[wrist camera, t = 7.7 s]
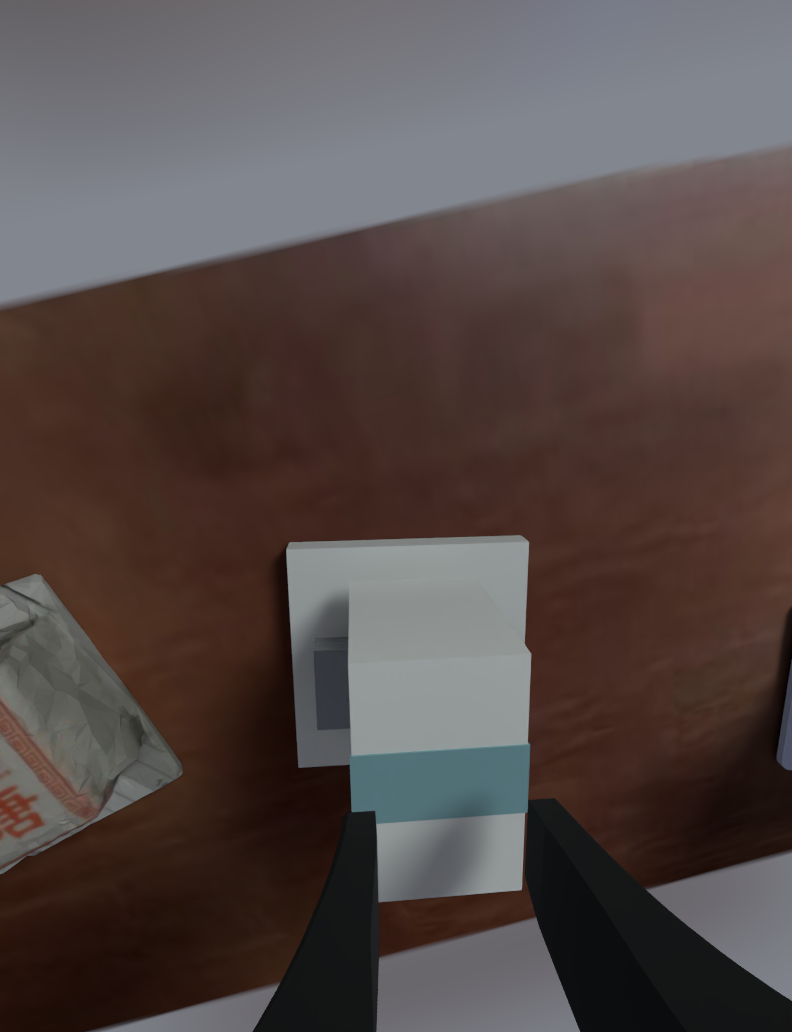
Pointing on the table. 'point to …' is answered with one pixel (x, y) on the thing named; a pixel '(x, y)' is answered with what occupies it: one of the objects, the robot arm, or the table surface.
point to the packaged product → (64, 728)
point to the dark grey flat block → (332, 683)
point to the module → (439, 735)
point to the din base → (333, 564)
